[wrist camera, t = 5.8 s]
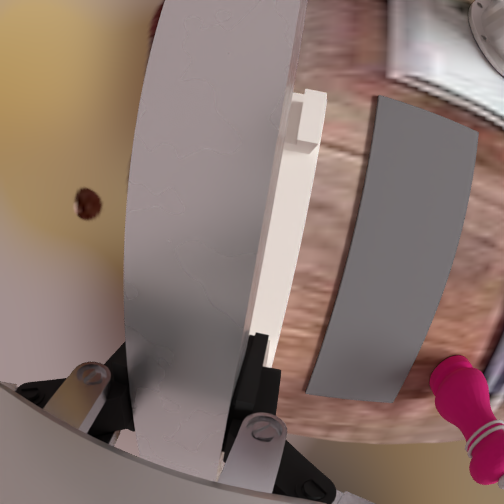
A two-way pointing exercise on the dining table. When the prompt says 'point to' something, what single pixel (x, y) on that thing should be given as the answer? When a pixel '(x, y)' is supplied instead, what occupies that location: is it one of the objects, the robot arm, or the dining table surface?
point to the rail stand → (288, 215)
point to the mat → (397, 252)
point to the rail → (202, 215)
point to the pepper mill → (471, 416)
